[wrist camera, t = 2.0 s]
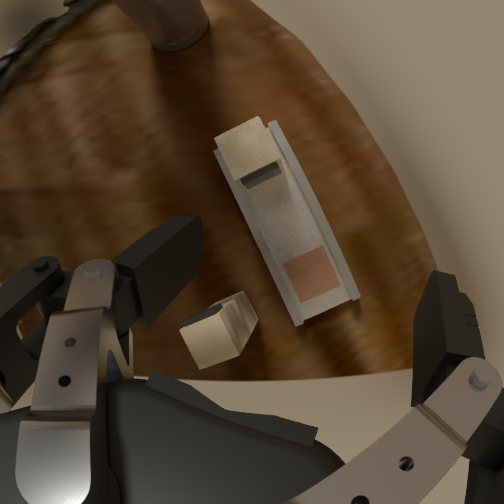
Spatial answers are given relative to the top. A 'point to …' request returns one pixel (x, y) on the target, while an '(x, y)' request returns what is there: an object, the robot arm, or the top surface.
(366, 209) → the top surface
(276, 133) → the rail
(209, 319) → the beige tall rectangular block
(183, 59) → the top surface
